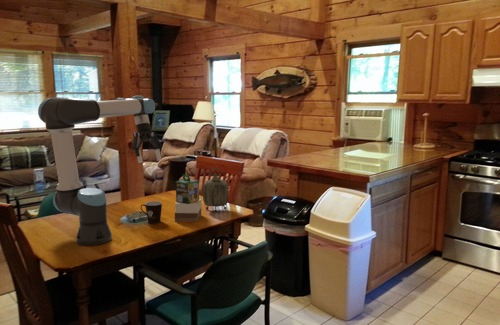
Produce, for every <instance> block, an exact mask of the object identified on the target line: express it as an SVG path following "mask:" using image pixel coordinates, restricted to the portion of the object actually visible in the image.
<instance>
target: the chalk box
mask: <svg viewBox="0 0 500 325" xmlns="http://www.w3.org/2000/svg"><path fill="white" fill-rule="evenodd" d="M199 185H200V183H199V179H193V178H190V175H189V174H188V175H187V174H182V179H179V180H176V181H175V201H176V202H181V203H185V204H190V203H193V202H196V201H199V198H200V186H199ZM176 202H175V203H176Z"/></svg>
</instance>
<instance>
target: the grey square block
mask: <svg viewBox="0 0 500 325" xmlns="http://www.w3.org/2000/svg"><path fill="white" fill-rule="evenodd" d="M201 216H202V208H201V209H200V210H199V212H198V213H175V212H174V222H181V223H182V222H183V223H185V222H186V223H187V222H188V223H189V222H190V223H191V222H192V223H197V222H198V221H199V220H200V218H201Z"/></svg>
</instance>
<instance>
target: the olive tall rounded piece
mask: <svg viewBox="0 0 500 325" xmlns="http://www.w3.org/2000/svg"><path fill="white" fill-rule="evenodd" d="M212 171H219V172H220V173H219V174H217V173H214V174H213V173H211V172H212ZM222 173H223V172H222V170H221V169H219V168H212V169H211V170H209V175H210V176H212V178H211V179H209V180H208V179H207V180H205V182H204V184H203V188H202V199H203V200H202V201H203V204H204V205H205V210H206V211H207V210H209V207H213V208H214V207H215V208H214V210H213V212H215V213H217V212H218V210H217V207H223V210H227V207H226V205H227V204H228V200H229V199H228V198H229V184H228V182H227V180H224V179H220V177H219V176H221V175H222Z"/></svg>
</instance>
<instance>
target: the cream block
mask: <svg viewBox="0 0 500 325" xmlns="http://www.w3.org/2000/svg"><path fill="white" fill-rule="evenodd" d="M200 209H201V210H202V198H201V197H199V201H196V202H193V203H190V204H185V203H181V202H175V204H174V210H175V212H174V214H175V213H198V212H199V210H200Z"/></svg>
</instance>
